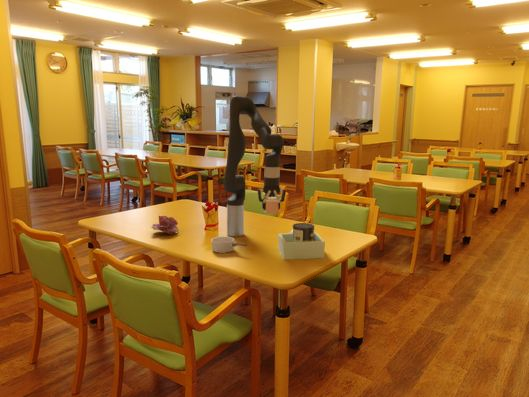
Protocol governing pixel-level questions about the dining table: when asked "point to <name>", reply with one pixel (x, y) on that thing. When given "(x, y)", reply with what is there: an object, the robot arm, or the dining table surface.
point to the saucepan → (224, 244)
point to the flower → (166, 225)
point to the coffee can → (303, 232)
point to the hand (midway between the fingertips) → (271, 209)
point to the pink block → (271, 205)
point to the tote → (300, 247)
